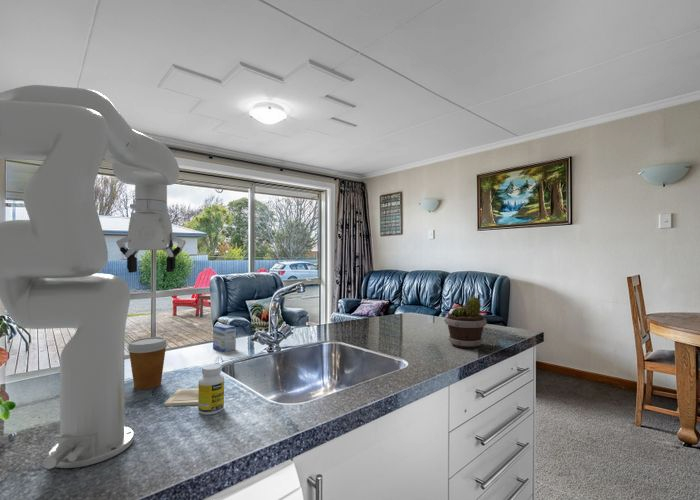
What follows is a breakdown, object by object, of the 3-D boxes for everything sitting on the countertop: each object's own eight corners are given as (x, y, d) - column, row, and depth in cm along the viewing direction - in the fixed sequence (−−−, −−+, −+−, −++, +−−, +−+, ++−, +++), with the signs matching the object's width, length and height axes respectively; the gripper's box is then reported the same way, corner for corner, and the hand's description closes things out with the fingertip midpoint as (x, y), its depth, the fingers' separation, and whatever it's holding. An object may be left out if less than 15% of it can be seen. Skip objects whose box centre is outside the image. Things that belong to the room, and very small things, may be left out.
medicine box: (212, 349, 133) (212, 325, 133) (222, 346, 137) (222, 323, 137) (225, 352, 129) (225, 328, 129) (236, 349, 132) (236, 325, 132)
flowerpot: (437, 345, 136) (436, 292, 136) (458, 339, 146) (458, 289, 146) (473, 353, 125) (472, 295, 125) (493, 345, 136) (493, 292, 136)
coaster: (204, 404, 84) (204, 401, 84) (163, 406, 83) (163, 403, 83) (214, 389, 93) (214, 387, 93) (177, 391, 92) (177, 388, 92)
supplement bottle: (212, 417, 78) (212, 371, 78) (192, 413, 80) (192, 369, 80) (229, 407, 83) (229, 364, 83) (210, 403, 85) (210, 362, 85)
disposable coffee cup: (150, 393, 91) (150, 345, 91) (118, 390, 93) (118, 344, 93) (175, 380, 100) (175, 337, 100) (145, 378, 102) (145, 335, 102)
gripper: (109, 206, 92) (109, 273, 92) (179, 206, 94) (179, 272, 94) (124, 209, 100) (125, 271, 100) (189, 210, 101) (189, 271, 101)
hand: (151, 272), depth 97 cm, fingers open, 9 cm apart
